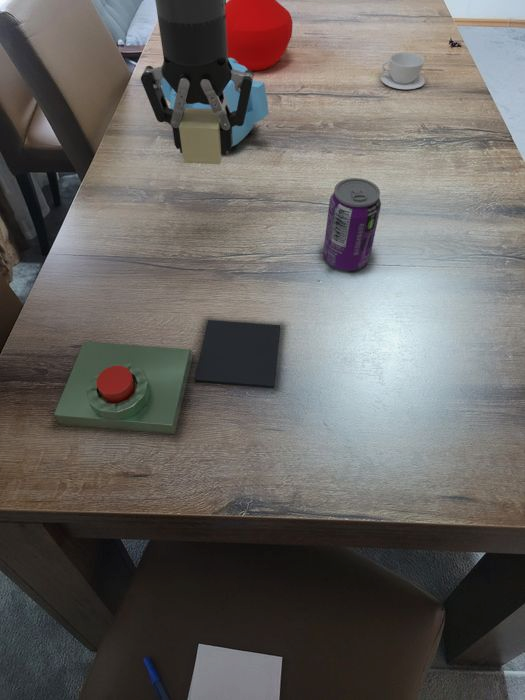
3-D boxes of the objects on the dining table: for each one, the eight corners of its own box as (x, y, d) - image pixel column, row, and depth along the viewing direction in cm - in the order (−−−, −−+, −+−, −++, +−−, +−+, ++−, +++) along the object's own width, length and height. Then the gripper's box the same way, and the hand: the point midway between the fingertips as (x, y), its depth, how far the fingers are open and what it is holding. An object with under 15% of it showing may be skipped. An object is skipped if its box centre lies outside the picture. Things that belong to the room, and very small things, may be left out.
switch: (95, 401, 56) (91, 392, 55) (106, 372, 59) (102, 364, 57) (130, 404, 56) (126, 395, 54) (138, 375, 58) (135, 366, 57)
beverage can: (374, 271, 74) (390, 204, 65) (329, 276, 73) (338, 209, 64) (361, 240, 78) (374, 173, 69) (318, 245, 78) (325, 178, 68)
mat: (195, 382, 62) (194, 379, 61) (208, 322, 68) (208, 319, 68) (274, 388, 61) (274, 385, 61) (280, 327, 67) (280, 324, 67)
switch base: (59, 424, 58) (47, 407, 55) (88, 351, 65) (79, 332, 62) (175, 434, 57) (169, 417, 54) (192, 359, 64) (188, 340, 61)
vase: (266, 40, 126) (265, -53, 111) (306, 67, 116) (311, -31, 101) (202, 57, 120) (193, -40, 105) (238, 86, 111) (234, -15, 96)
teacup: (424, 73, 114) (429, 51, 111) (425, 93, 108) (430, 70, 105) (380, 70, 115) (384, 48, 112) (379, 89, 110) (383, 67, 106)
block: (183, 162, 66) (178, 126, 62) (190, 143, 69) (185, 107, 65) (220, 164, 66) (217, 128, 62) (225, 144, 69) (223, 109, 65)
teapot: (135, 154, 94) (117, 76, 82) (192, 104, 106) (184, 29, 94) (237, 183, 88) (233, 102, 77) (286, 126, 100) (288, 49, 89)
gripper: (117, 17, 52) (147, 164, 65) (252, 22, 51) (254, 169, 65) (134, -7, 56) (159, 134, 70) (258, -3, 56) (259, 139, 69)
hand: (204, 150), depth 67 cm, fingers closed on block, 5 cm apart
